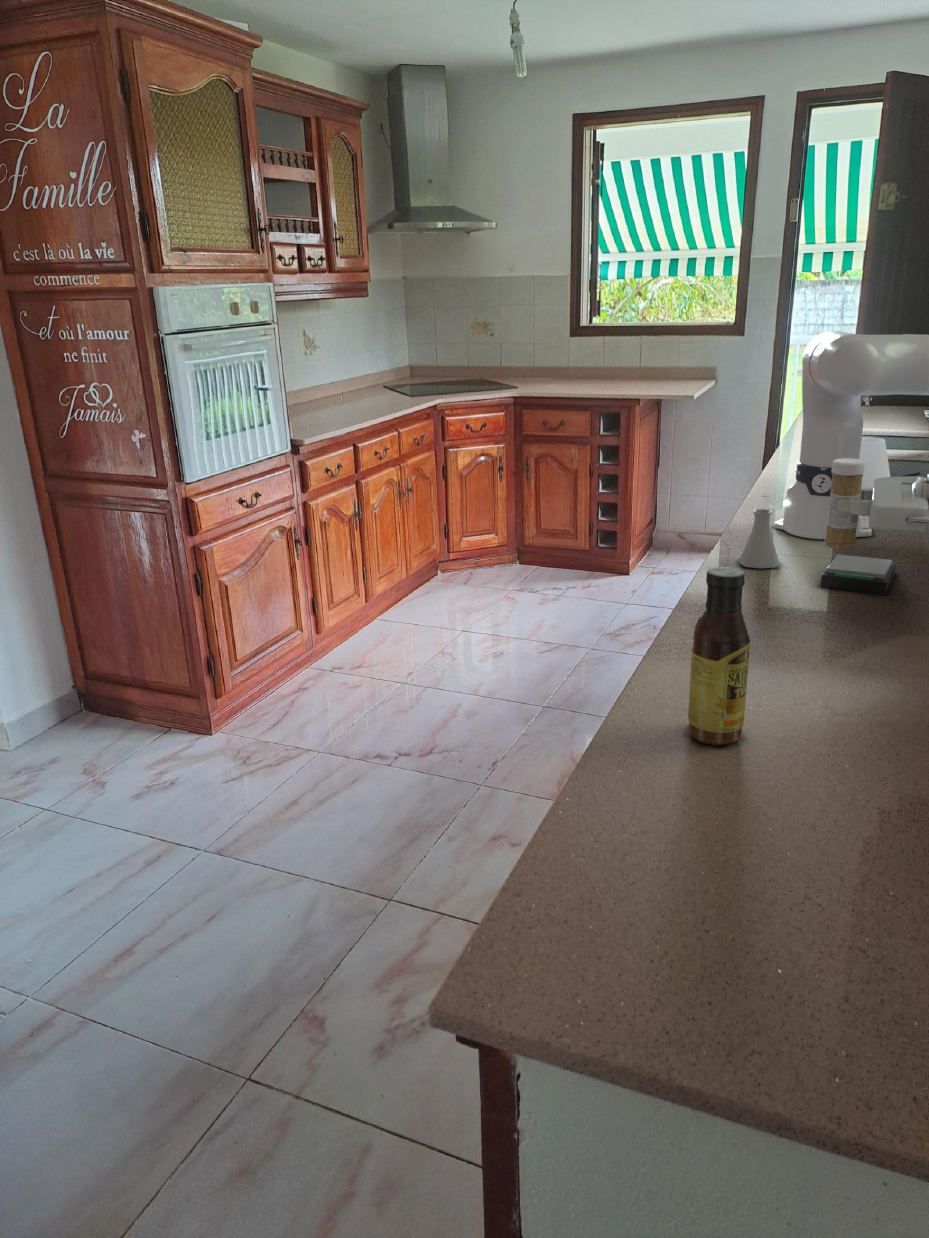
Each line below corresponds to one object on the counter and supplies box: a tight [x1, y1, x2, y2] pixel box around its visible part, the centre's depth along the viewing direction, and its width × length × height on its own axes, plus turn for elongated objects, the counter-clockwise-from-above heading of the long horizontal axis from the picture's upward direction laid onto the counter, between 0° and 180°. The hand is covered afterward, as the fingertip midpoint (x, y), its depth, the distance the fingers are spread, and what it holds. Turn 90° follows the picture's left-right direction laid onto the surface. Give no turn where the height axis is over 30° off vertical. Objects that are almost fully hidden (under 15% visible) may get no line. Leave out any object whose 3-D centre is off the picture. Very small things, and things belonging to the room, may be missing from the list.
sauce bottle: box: [687, 566, 751, 746], centre depth 99 cm, size 6×6×20 cm
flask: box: [738, 508, 780, 569], centre depth 161 cm, size 7×7×10 cm
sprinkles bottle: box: [824, 458, 865, 550], centre depth 135 cm, size 5×5×14 cm
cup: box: [859, 436, 891, 489], centre depth 202 cm, size 13×13×14 cm
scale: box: [820, 553, 897, 596], centre depth 151 cm, size 12×10×3 cm
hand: (838, 500), depth 135 cm, fingers closed on sprinkles bottle, 4 cm apart
